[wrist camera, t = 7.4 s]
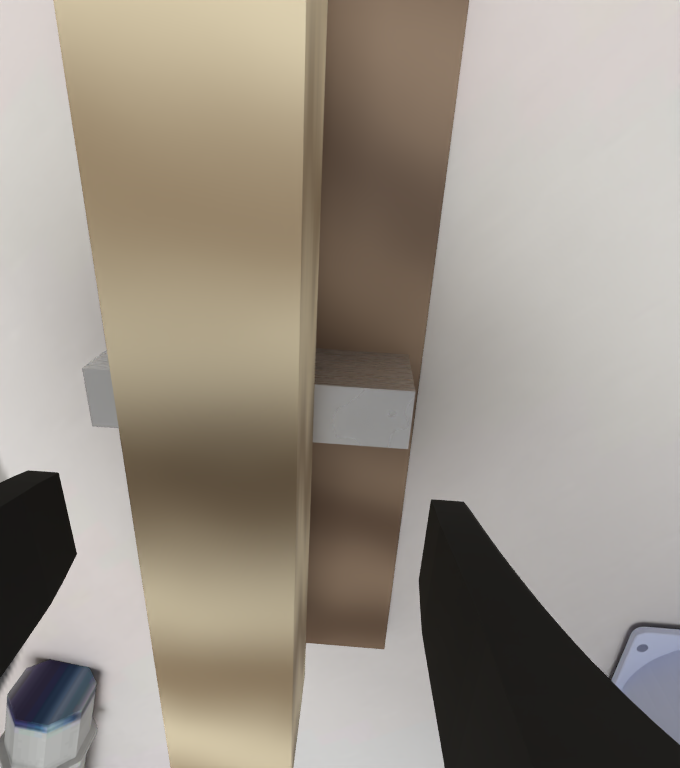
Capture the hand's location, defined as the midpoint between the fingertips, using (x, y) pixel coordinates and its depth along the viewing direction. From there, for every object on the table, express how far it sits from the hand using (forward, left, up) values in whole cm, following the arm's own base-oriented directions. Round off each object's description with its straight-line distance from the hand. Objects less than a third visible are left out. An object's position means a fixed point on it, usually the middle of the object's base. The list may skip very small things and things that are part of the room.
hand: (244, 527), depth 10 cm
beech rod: (-1, +1, -6) cm, 6 cm away
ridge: (-1, +1, -9) cm, 9 cm away
